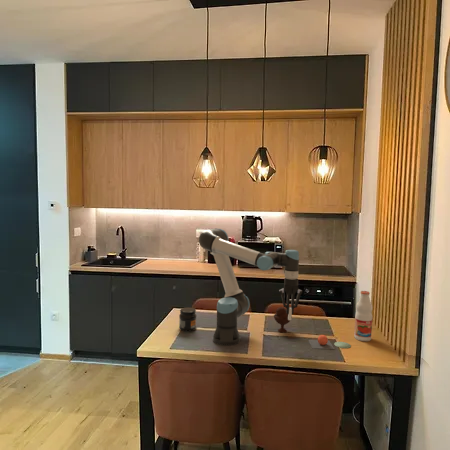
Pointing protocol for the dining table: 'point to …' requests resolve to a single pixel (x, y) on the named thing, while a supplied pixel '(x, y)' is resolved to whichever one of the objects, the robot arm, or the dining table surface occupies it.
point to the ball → (322, 340)
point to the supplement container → (187, 319)
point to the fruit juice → (363, 318)
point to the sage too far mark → (342, 344)
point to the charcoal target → (317, 346)
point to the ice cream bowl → (281, 318)
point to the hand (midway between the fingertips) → (289, 319)
